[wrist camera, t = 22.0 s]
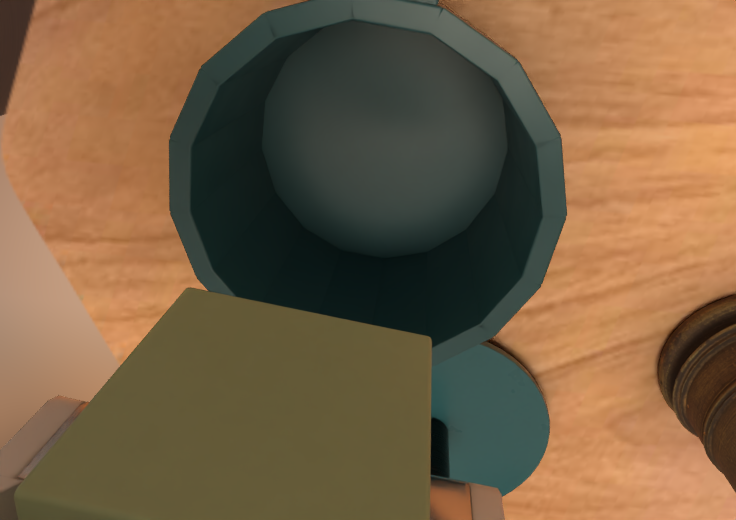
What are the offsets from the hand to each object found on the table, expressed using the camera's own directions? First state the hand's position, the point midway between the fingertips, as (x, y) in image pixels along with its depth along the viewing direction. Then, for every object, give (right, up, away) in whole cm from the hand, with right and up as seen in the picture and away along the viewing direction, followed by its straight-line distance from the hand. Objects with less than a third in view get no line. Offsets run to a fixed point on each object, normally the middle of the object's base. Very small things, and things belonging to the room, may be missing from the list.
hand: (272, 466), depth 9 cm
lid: (+6, -7, +25) cm, 26 cm away
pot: (+2, +9, +18) cm, 20 cm away
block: (0, +1, +1) cm, 2 cm away
